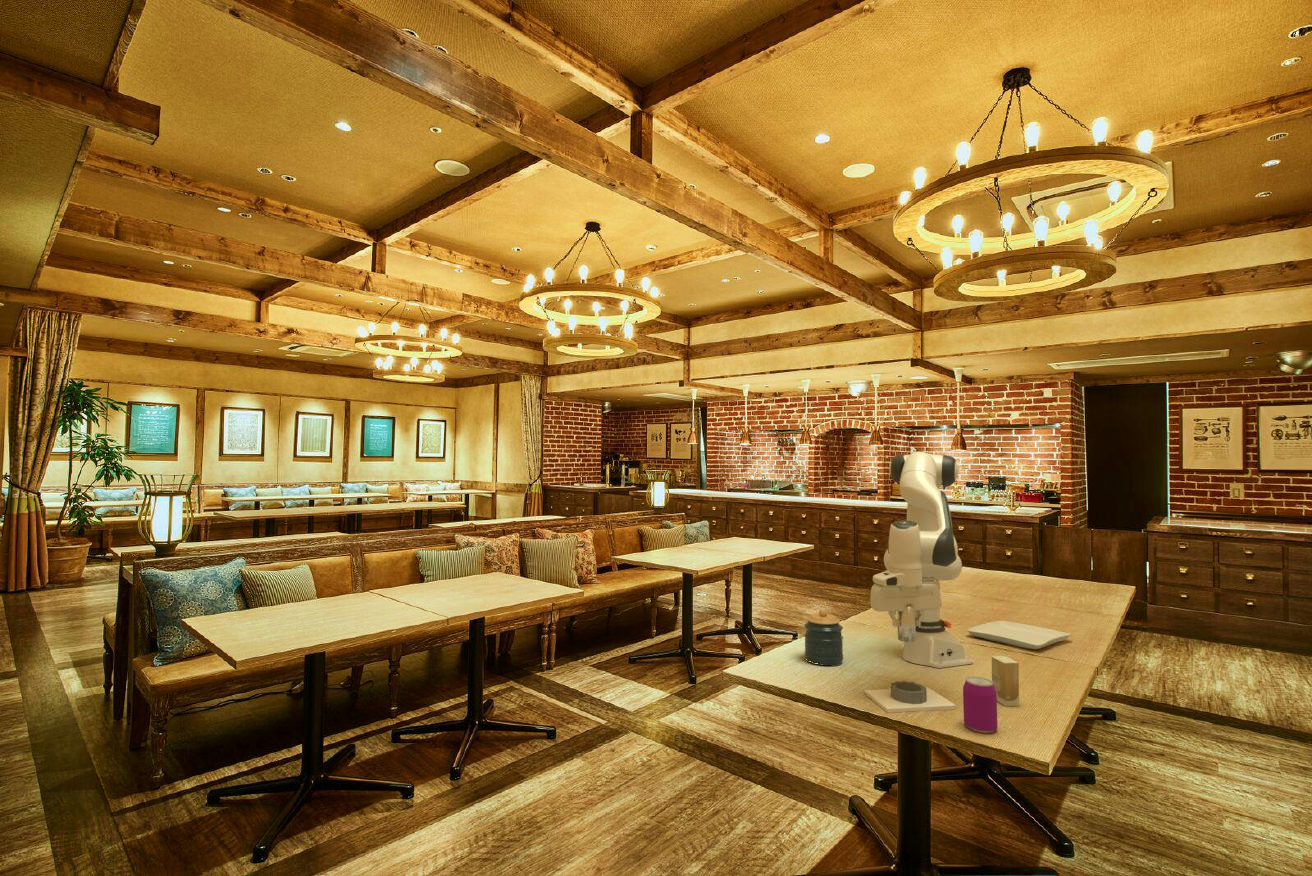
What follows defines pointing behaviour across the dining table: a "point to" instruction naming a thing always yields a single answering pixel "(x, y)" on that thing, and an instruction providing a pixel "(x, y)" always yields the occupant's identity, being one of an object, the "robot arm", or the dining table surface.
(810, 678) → the dining table surface
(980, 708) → the beverage can
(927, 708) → the ring block
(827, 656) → the canister
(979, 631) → the square plate
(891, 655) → the dining table surface
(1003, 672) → the skincare box
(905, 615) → the cylinder
